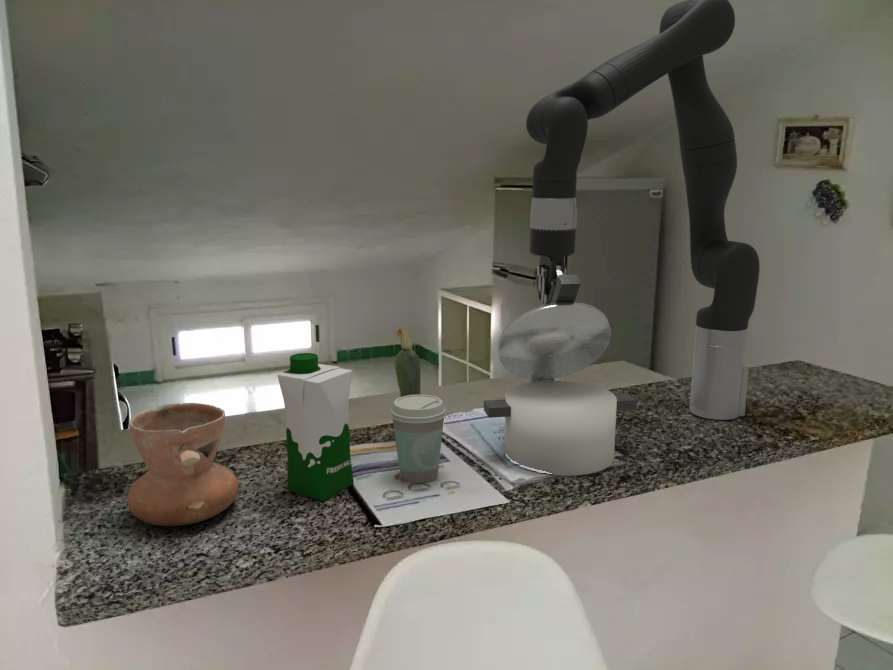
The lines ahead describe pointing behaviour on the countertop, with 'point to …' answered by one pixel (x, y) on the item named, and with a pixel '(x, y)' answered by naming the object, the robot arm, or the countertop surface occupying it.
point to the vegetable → (407, 367)
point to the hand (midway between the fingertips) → (549, 328)
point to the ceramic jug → (180, 465)
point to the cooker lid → (555, 336)
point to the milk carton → (317, 426)
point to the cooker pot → (560, 425)
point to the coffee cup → (418, 436)
